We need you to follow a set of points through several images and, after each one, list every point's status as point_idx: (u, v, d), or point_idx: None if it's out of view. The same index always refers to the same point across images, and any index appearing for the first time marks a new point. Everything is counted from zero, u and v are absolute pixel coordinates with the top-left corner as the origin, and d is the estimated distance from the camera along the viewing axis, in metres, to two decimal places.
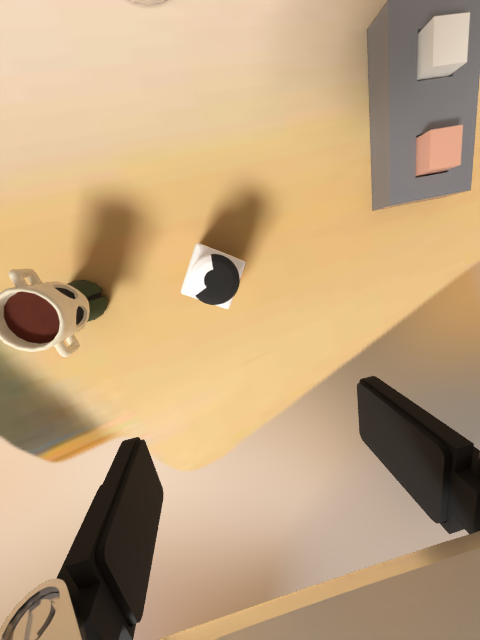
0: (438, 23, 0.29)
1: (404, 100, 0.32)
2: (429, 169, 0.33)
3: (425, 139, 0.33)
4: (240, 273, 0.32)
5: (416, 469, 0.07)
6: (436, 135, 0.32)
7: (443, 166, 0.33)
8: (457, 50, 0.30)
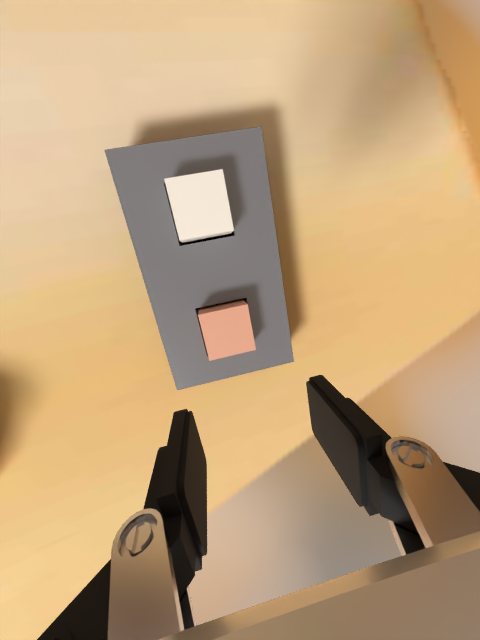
0: (174, 187, 0.20)
1: (165, 270, 0.23)
2: (209, 359, 0.24)
3: None
4: None
5: (344, 458, 0.08)
6: (208, 320, 0.23)
7: (229, 354, 0.24)
8: (214, 217, 0.21)
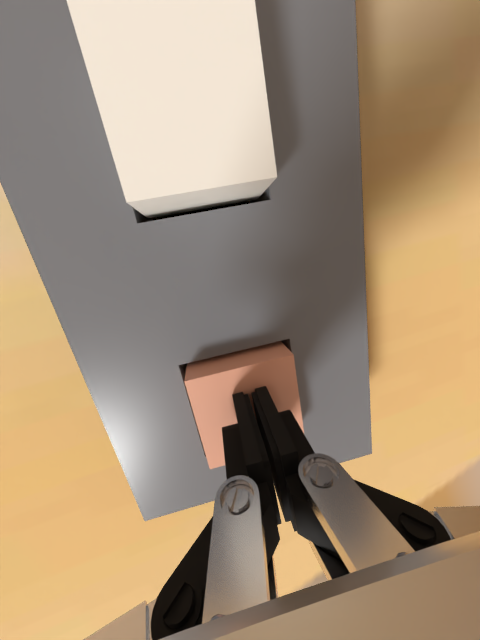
0: (100, 27, 0.06)
1: (105, 282, 0.10)
2: (210, 465, 0.12)
3: None
4: None
5: (274, 472, 0.08)
6: (207, 391, 0.10)
7: None
8: (225, 137, 0.07)
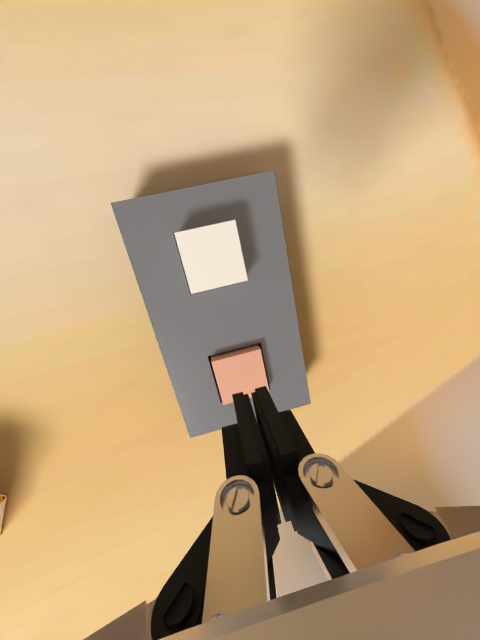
0: (184, 241, 0.19)
1: (176, 319, 0.22)
2: (223, 403, 0.24)
3: None
4: None
5: (274, 473, 0.08)
6: (221, 366, 0.23)
7: None
8: (227, 269, 0.20)
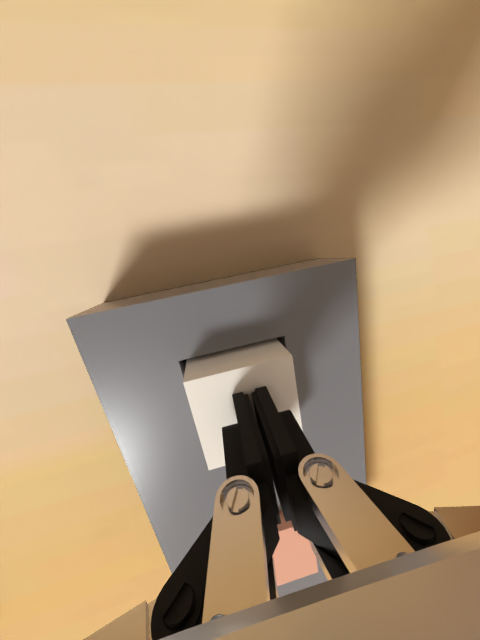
0: (201, 393, 0.10)
1: (179, 485, 0.14)
2: None
3: None
4: None
5: (273, 473, 0.08)
6: None
7: (279, 583, 0.16)
8: None
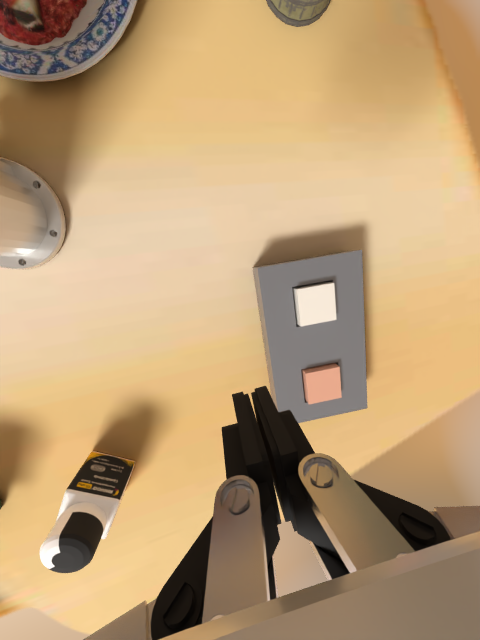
0: (302, 294, 0.30)
1: (284, 343, 0.32)
2: (309, 403, 0.34)
3: (304, 376, 0.34)
4: (113, 511, 0.32)
5: (273, 473, 0.08)
6: (312, 377, 0.33)
7: (323, 400, 0.34)
8: (325, 312, 0.31)
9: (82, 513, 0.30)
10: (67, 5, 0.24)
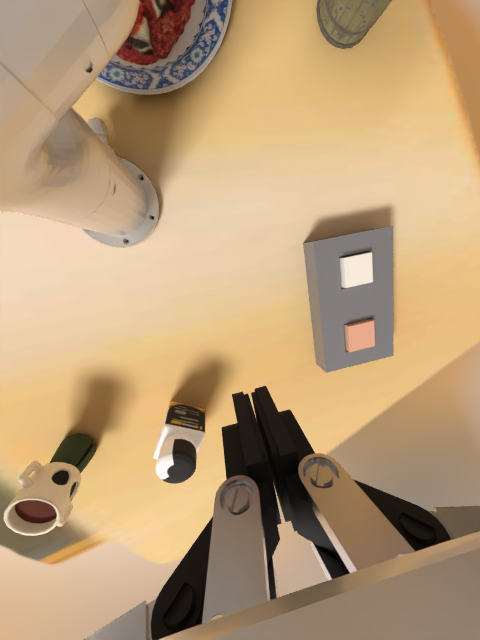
0: (347, 262, 0.38)
1: (331, 302, 0.41)
2: (349, 351, 0.43)
3: (346, 329, 0.42)
4: (200, 441, 0.40)
5: (273, 473, 0.08)
6: (353, 329, 0.42)
7: (361, 348, 0.43)
8: (364, 276, 0.39)
9: (182, 439, 0.38)
10: (171, 33, 0.31)
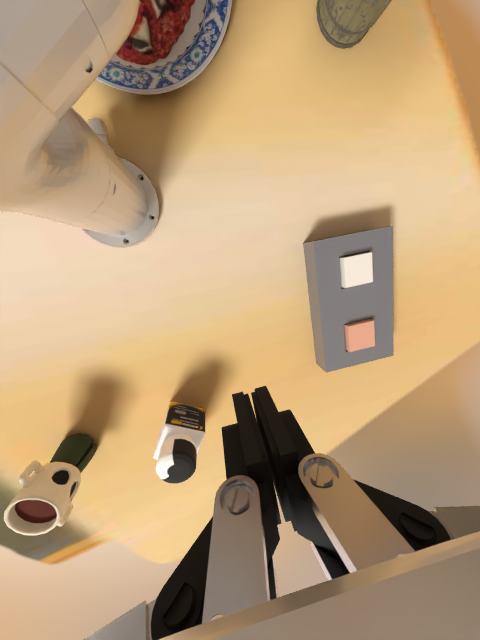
0: (347, 262, 0.38)
1: (331, 302, 0.41)
2: (350, 351, 0.43)
3: (346, 329, 0.42)
4: (200, 441, 0.40)
5: (273, 473, 0.08)
6: (353, 329, 0.42)
7: (361, 348, 0.43)
8: (364, 276, 0.39)
9: (182, 439, 0.38)
10: (171, 33, 0.31)
